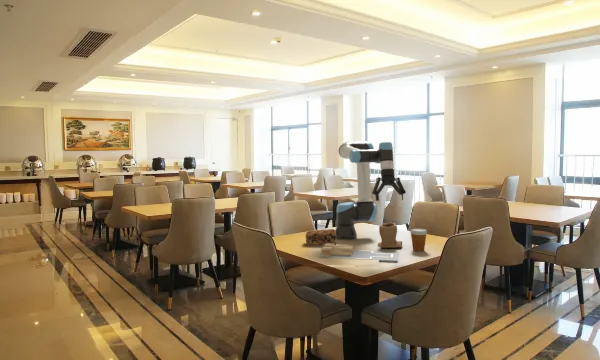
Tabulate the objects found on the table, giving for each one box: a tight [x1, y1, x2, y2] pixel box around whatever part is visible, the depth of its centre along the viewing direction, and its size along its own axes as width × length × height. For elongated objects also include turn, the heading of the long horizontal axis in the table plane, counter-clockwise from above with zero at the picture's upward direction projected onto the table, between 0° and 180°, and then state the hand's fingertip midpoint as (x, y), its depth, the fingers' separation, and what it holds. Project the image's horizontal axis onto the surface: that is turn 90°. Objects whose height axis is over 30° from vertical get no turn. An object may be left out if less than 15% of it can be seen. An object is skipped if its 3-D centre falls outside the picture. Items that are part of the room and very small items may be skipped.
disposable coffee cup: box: [409, 228, 428, 252], centre depth 251 cm, size 10×10×12 cm
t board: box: [318, 249, 399, 263], centre depth 239 cm, size 20×42×1 cm, turn 78°
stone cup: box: [377, 222, 403, 249], centre depth 258 cm, size 15×12×15 cm
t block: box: [321, 243, 354, 257], centre depth 241 cm, size 16×16×4 cm
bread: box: [305, 228, 337, 246], centre depth 267 cm, size 19×11×10 cm, turn 84°
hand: (390, 206), depth 242 cm, fingers open, 13 cm apart
